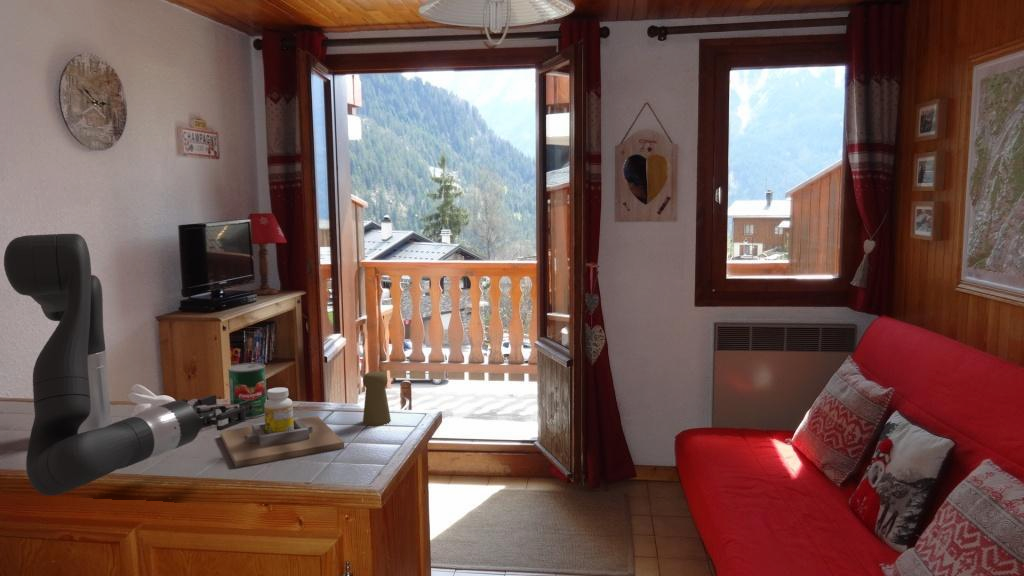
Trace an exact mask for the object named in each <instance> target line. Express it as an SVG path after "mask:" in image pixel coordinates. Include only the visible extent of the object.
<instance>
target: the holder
mask: <svg viewBox="0 0 1024 576" xmlns="http://www.w3.org/2000/svg"><path fill="white" fill-rule="evenodd" d="M293 423H294V430H289V431H283V432H277V433H271V434H266V427H265V422H260V423H252V424H251V426H244V427H239V428H238V427H237V428H234V429H233V428H232V429H224V430H219V433H220V435H219V436H220V439H221V441H222V442H223V445H224V446H225V448H226V450H227V452H228V455H229V457H230V459H231V460H232V462H233V464H234V466H235V468H241V467H247V466H251V465H252V466H253V465H258V464H263V463H268V462H275V461H280V460H285V459H291V458H297V457H302V456H307V455H314V454H320V453H323V452H329V451H330V452H331V451H335V450H341V449H345V441H344V440H342V439H341V438H340V436H338V434H337V433H335V431H334V430H332V429H331V428H330V426H328V425H327V423H326V422H325V421H324V420H323V419H321V418H320V416H319V415H315V416H311V417H309V416H308V417H304V418H299V417H293Z"/></svg>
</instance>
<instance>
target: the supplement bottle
mask: <svg viewBox="0 0 1024 576" xmlns="http://www.w3.org/2000/svg"><path fill="white" fill-rule="evenodd" d="M289 395H290V394H289V389H288V388H287V387H273V388H269V389H266V396H267V401H266V402H265V404H264V410H265V415H264V423H265V427H266V434H271V433H277V432H283V431H289V430H294V423H293V418H294V408H293V407H294V405H293V404H294V403H293V400H292V399H290V398H289Z"/></svg>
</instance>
